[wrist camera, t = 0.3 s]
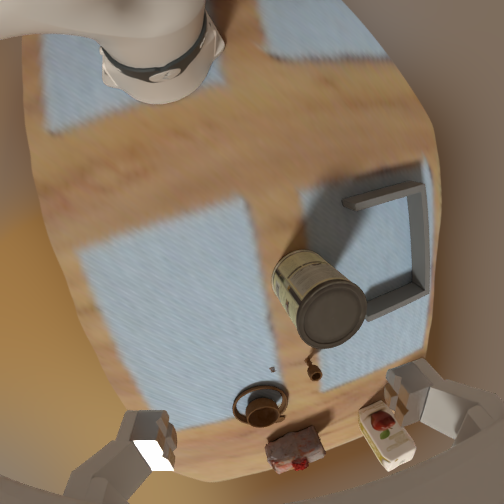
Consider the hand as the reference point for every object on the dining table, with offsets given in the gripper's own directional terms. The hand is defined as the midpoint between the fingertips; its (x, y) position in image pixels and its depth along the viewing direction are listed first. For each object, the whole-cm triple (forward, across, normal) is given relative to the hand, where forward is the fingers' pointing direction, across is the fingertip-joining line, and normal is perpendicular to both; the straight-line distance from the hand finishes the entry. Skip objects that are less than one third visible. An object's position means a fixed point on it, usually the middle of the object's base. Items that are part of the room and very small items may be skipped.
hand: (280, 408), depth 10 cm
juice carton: (+45, -26, +56) cm, 76 cm away
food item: (+43, -4, +56) cm, 71 cm away
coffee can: (+41, -9, +12) cm, 43 cm away
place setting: (+42, -2, +39) cm, 57 cm away
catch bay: (+42, -26, +10) cm, 50 cm away
